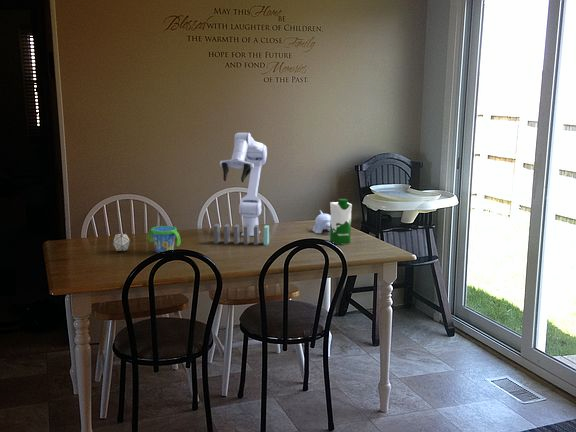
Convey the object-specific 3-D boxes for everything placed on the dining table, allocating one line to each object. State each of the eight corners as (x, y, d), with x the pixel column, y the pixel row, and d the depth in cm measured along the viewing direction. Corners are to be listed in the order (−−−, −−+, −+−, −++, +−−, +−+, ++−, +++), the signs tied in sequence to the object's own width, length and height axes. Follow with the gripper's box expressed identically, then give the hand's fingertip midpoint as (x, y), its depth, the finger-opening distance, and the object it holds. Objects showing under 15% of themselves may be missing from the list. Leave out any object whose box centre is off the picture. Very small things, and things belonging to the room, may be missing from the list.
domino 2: (223, 243, 279) (223, 226, 277) (226, 241, 284) (226, 224, 282) (227, 244, 279) (227, 226, 277) (229, 241, 284) (229, 224, 282)
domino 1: (214, 243, 280) (213, 226, 278) (216, 241, 284) (216, 223, 283) (217, 243, 279) (217, 226, 278) (220, 241, 284) (219, 223, 283)
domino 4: (243, 244, 278) (243, 227, 276) (245, 242, 283) (245, 224, 281) (247, 244, 278) (247, 227, 276) (249, 242, 283) (249, 224, 281)
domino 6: (263, 245, 277) (263, 227, 275) (265, 242, 282) (265, 225, 280) (267, 245, 277) (267, 227, 275) (269, 242, 282) (269, 225, 280)
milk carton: (334, 245, 278) (335, 200, 274) (327, 240, 286) (328, 197, 282) (353, 243, 280) (354, 199, 277) (345, 239, 289) (346, 196, 285)
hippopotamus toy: (319, 235, 296) (319, 216, 294) (309, 229, 310) (310, 210, 308) (340, 234, 299) (341, 215, 297) (330, 228, 313) (330, 209, 311)
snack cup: (186, 251, 265) (186, 228, 263) (169, 257, 256) (168, 232, 254) (160, 246, 273) (159, 224, 271) (142, 251, 264) (141, 228, 262)
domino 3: (233, 244, 278) (233, 226, 277) (236, 241, 283) (235, 224, 282) (237, 244, 278) (237, 226, 277) (239, 241, 283) (239, 224, 282)
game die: (124, 260, 264) (124, 245, 257) (106, 252, 265) (106, 237, 258) (135, 246, 270) (136, 231, 263) (118, 239, 271) (118, 223, 264)
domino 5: (253, 244, 277) (253, 227, 276) (255, 242, 282) (255, 225, 281) (257, 245, 277) (257, 227, 276) (259, 242, 282) (259, 225, 281)
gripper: (221, 148, 270) (215, 173, 263) (254, 150, 268) (249, 175, 261) (223, 158, 276) (217, 183, 269) (256, 160, 274) (250, 185, 267)
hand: (233, 180), depth 265 cm, fingers open, 7 cm apart
